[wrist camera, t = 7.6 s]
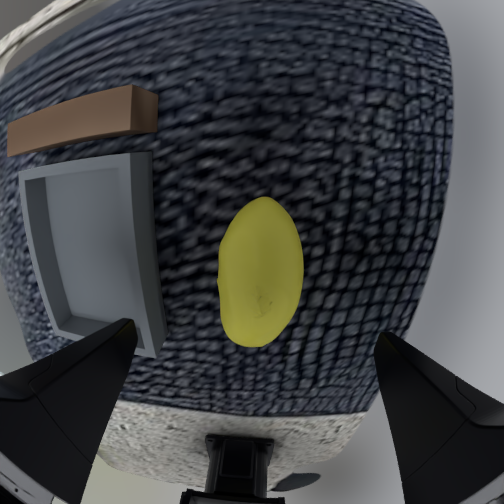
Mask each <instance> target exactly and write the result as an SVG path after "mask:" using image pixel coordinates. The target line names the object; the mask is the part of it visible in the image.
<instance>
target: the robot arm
mask: <svg viewBox="0 0 504 504" xmlns="http://www.w3.org/2000/svg"><path fill="white" fill-rule="evenodd" d="M137 343H138V334H137V330H136V326H135V322H134V320H133V319H130V318H121V319H119V320H117V321H115V322H114V323H112V324H110V325H108V326H106V327H104V328H102V329H100V330H98V331H96V332H94V333H92V334H90V335H88V336H86V337H84V338H82V339H80V340H78V341H76V342H74V343H72V344H70V345H68V346H66V347H65V348H63V349H61V350H59V351H57V352H55V353H53V354H51V355H49V356H47V357H45V358H43V359H41V360H39V361H37V362H35V363H32V364H30V365H28V366H25V367H23V368H20V369H18V370H15V371H13V372H10V373H8V374H5V375H3V376H0V504H51V503H52V501H53V498H54V496H55V497H57V498H58V499H60V500H62V501H63V502H65V503H67V504H80V503H81V500H82V496H83V493H84V490H85V487H86V483H87V480H88V477H89V474H90V471H91V468H92V464H93V462H94V459H95V456H96V453H97V451H98V448H99V445H100V442H101V440H102V437H103V434H104V432H105V429H106V426H107V424H108V421H109V419H110V416H111V414H112V411H113V409H114V406H115V404H116V401H117V399H118V396H119V394H120V392H121V389H122V387H123V385H124V382H125V380H126V377H127V375H128V372H129V369H130V366H131V362H132V359H133V356H134V353H135V349H136V346H137ZM374 360H375V365H376V371H377V376H378V382H379V388H380V392H381V395H382V399H383V402H384V406H385V410H386V414H387V418H388V421H389V425H390V430H391V434H392V438H393V442H394V447H395V451H396V456H397V461H398V465H399V470H400V475H401V481H402V488H403V494H404V500H405V504H504V404H503V403H501V402H499V401H497V400H496V399H494V398H492V397H490V396H488V395H487V394H485V393H483V392H481V391H479V390H478V389H476V388H474V387H473V386H471V385H470V384H468V383H467V382H465V381H464V380H462V379H461V378H459V377H458V376H455V374H453V373H452V372H450V371H449V370H447V369H446V368H444V367H443V366H441V365H440V364H438V363H437V362H435V361H434V360H433V359H431V358H430V357H428V356H427V355H425V354H424V353H422V352H421V351H419V350H418V349H416V348H415V347H413V346H412V345H410V344H409V343H407V342H406V341H404V340H403V339H401V338H400V337H398V336H397V335H395V334H394V333H392V332H381V333H380V334H379V336H378V339H377V342H376V345H375V348H374ZM205 442H206V446H207V451H208V455H209V459H210V462H209V468H208V474H207V479H206V485H205V491H204V492H200V491H194V490H193V489H187V491H186V492H182V495H181V499H180V504H285V498H284V497H278V498H266V496H267V466H269V464H270V460H271V456H272V452H273V448H274V441H273V440H270V439H247V438H233V437H223V436H214V435H207V436H206V438H205Z"/></svg>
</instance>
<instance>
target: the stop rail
mask: <svg viewBox="0 0 504 504" xmlns="http://www.w3.org/2000/svg"><path fill="white" fill-rule="evenodd" d="M157 117H158V95H157V94H154V93H152V92H150V91H147V90H145V89H142V88H140V87H138V86H135V85H133V84H132V85H127V86H122V87H117V88H113V89H108V90H104V91H100V92H96V93H92V94H89V95H85V96H81V97H78V98H75V99H71V100H68V101H65V102H62V103H59V104H56V105H53V106H50V107H48V108H45V109H42V110H40V111H37V112H35V113H32V114H30V115H27V116H25V117H22V118H20V119H18V120H16V121H13V122H11V123H9V124H8V139H7V154H8V157H11V156H16V155H22V154H28V153H34V152H40V151H44V150H48V149H53V148H57V147H61V146H66V145H71V144H76V143H81V142H86V141H92V140H98V139H104V138H110V137H117V136H125V135H133V134H142V133H152V132H157Z"/></svg>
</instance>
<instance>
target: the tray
mask: <svg viewBox="0 0 504 504" xmlns="http://www.w3.org/2000/svg"><path fill="white" fill-rule="evenodd" d="M19 186H20V196H21V205H22V212H23V219H24V225H25V231H26V236H27V241H28V246H29V251H30V255H31V260H32V264H33V268H34V271H35V275H36V279H37V282H38V286H39V289H40V292H41V296H42V299H43V302H44V305H45V308H46V311H47V313H48V316H49V319H50V322H51V324H52V327H53V329H54V332H55V334H56V335H58V336H61V337H65V338H68V339H72V340H75V341H78V340H80V339H82V338H84V337H86V336H88V335H90V334H92V333H94V332H96V331H98V330H100V329H102V328H104V327H106V326H108V325H110V324H112V323H114V322H115V321H117V320H119V319H121V318H130V319H133V320H134V322H135V326H136V330H137V334H138V343H137V346H136V349H135V353H134V354H135V355H141V356H146V357H152V358H157V356H158V354H159V352H160V349H161V347H162V345H163V343H164V341H165V339H166V337H167V335H168V329H167V323H166V316H165V310H164V303H163V296H162V289H161V281H160V273H159V264H158V254H157V244H156V232H155V218H154V201H153V175H152V151H149V152H137V153H126V154H116V155H108V156H100V157H92V158H86V159H79V160H73V161H67V162H61V163H56V164H50V165H45V166H41V167H36V168H31V169H27V170H23V171H19Z"/></svg>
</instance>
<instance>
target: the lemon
mask: <svg viewBox="0 0 504 504" xmlns="http://www.w3.org/2000/svg"><path fill="white" fill-rule="evenodd" d="M303 273H304V266H303V252H302V246H301V242H300V238H299V235H298V232H297V229H296V226H295V224H294V222H293V220H292V218H291V217H290V215H289V214H288V213H287V211H286V210H285V209H284V208H283V207H282V206H281V205H280V204H279V203H278V202H276V201H275V200H274V199H272V198H270V197H260V198H257V199H255V200H253V201H251V202H250V203H248V204H247V205H245V206H244V207H243V208H242V209H241V210H240V211H239V212H238V213H237V215H236V216H235V217H234V219H233V220H232V222H231V223H230V225H229V227H228V229H227V231H226V233H225V235H224V237H223V239H222V241H221V243H220V247H219V271H218V278H217V283H218V288H219V295H220V314H221V321H222V324H223V327H224V330H225V332H226V334H227V336H228V337H229V338H230V339H231V340H232V341H233V342H235V343H237V344H239V345H242V346H245V347H262V346H264V345H266V344H268V343H270V342H271V341H273V340H274V339H275V338H276V337H277V336H278V335H279V334H280V333H281V332H282V330H283V329H284V328H285V327H286V325H287V324H288V323H289V321H290V320H291V318H292V317H293V315H294V313H295V311H296V309H297V306H298V303H299V300H300V295H301V290H302V283H303Z"/></svg>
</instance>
